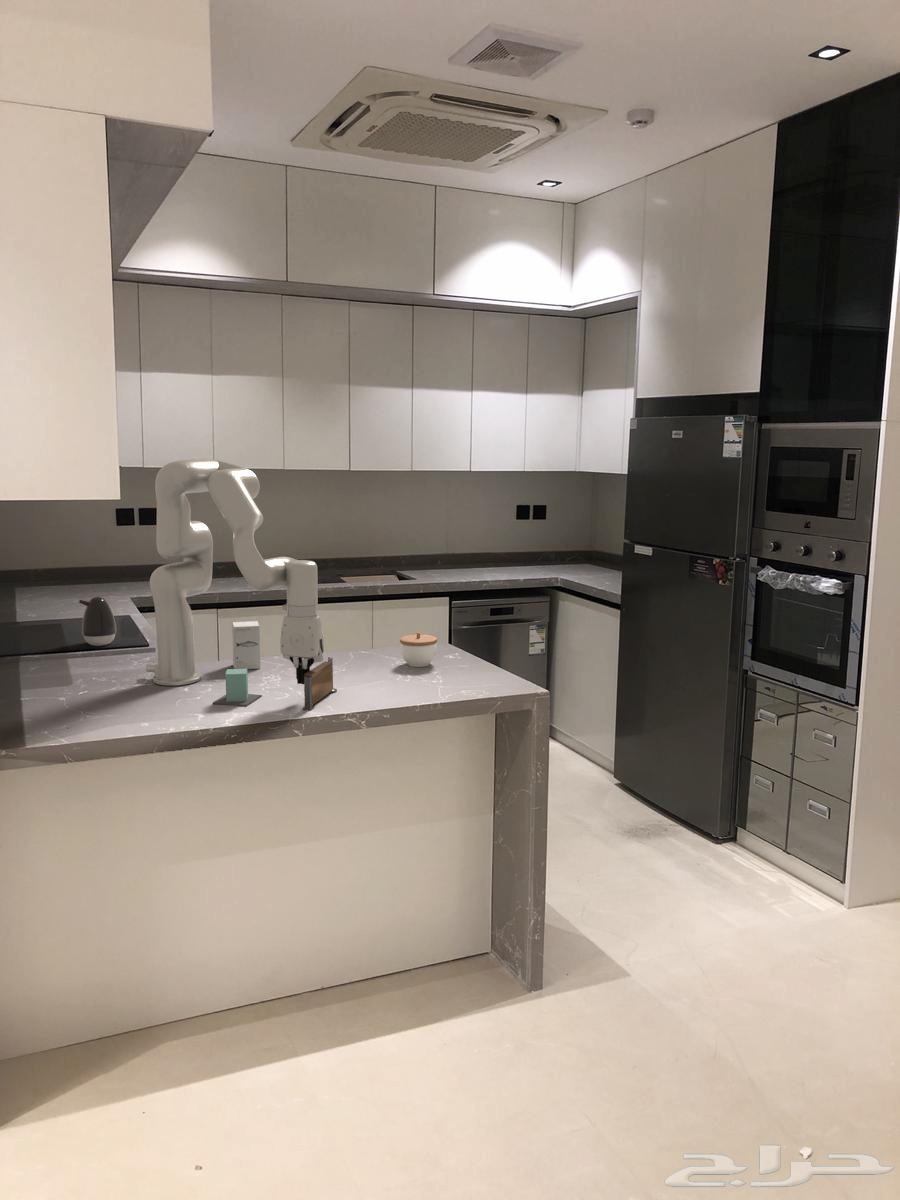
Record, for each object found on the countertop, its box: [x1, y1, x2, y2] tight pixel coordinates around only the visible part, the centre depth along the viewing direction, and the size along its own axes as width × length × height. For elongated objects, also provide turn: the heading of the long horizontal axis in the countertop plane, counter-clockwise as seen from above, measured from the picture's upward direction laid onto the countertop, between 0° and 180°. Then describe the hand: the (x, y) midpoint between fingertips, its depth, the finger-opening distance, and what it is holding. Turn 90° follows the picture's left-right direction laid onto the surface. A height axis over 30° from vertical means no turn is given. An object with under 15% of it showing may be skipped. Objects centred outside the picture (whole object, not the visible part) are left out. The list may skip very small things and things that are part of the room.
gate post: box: [327, 656, 338, 694], centre depth 246 cm, size 3×3×9 cm
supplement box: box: [231, 620, 261, 670], centre depth 271 cm, size 7×7×13 cm
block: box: [224, 668, 249, 702], centre depth 238 cm, size 5×5×7 cm
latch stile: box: [302, 676, 315, 711], centre depth 231 cm, size 2×2×8 cm
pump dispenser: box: [79, 596, 117, 647], centre depth 299 cm, size 10×10×15 cm
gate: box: [304, 661, 332, 706], centre depth 239 cm, size 2×14×8 cm, turn 166°
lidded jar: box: [399, 631, 438, 668], centre depth 275 cm, size 11×11×9 cm
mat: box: [212, 693, 263, 707], centre depth 239 cm, size 9×9×1 cm
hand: (303, 682), depth 238 cm, fingers closed
